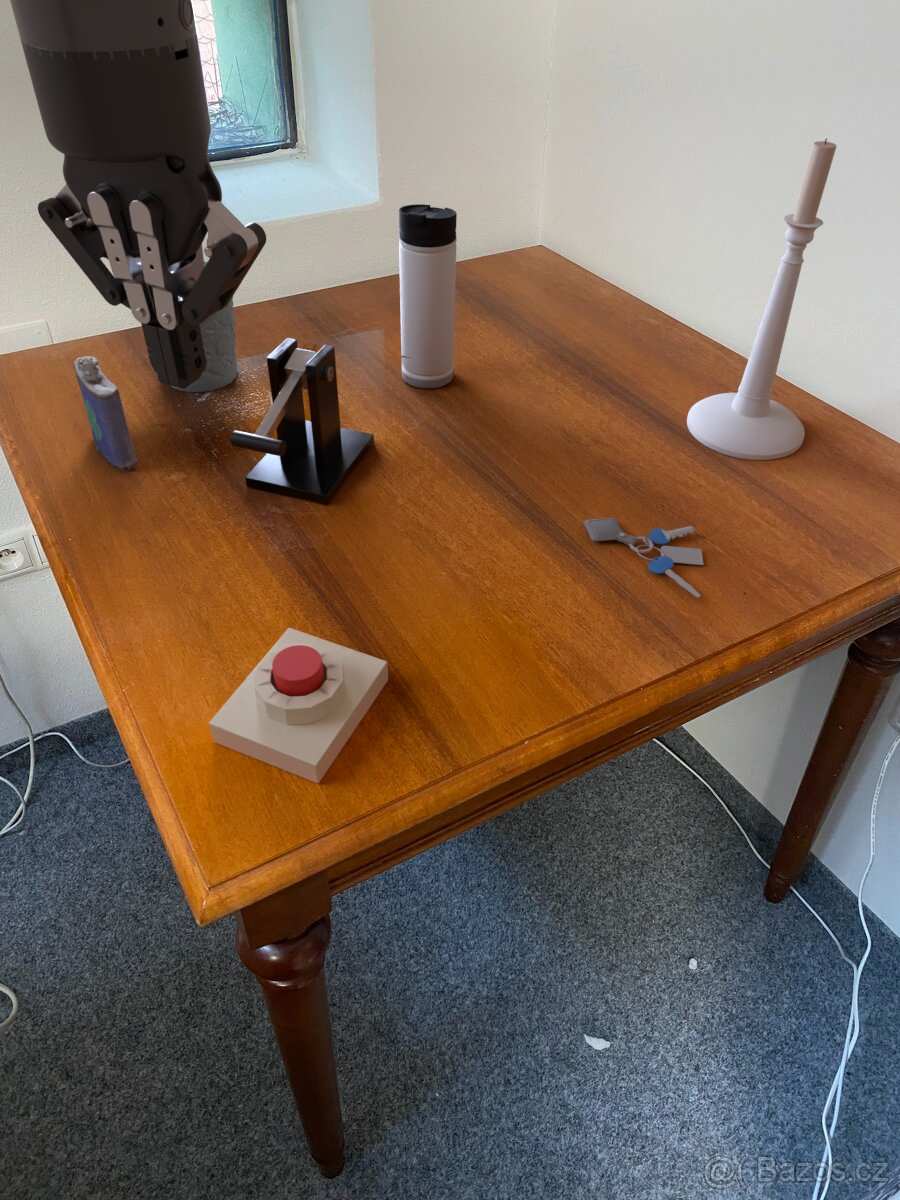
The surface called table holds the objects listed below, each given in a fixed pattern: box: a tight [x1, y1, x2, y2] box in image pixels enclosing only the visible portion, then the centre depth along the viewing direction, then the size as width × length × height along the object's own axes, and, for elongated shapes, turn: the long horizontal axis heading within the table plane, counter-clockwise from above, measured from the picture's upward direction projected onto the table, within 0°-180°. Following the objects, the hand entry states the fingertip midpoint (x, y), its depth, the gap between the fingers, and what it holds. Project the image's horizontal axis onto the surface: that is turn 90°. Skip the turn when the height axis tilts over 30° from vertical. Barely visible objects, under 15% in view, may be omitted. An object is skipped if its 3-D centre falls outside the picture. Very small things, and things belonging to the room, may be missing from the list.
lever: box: [229, 348, 317, 457], centre depth 82 cm, size 12×5×2 cm, turn 161°
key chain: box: [583, 517, 705, 599], centre depth 82 cm, size 14×8×1 cm, turn 46°
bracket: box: [244, 337, 375, 506], centre depth 88 cm, size 12×9×13 cm
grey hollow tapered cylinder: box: [170, 260, 238, 393], centre depth 101 cm, size 10×10×12 cm
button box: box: [208, 627, 389, 784], centre depth 66 cm, size 11×9×4 cm
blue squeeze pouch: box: [73, 355, 138, 472], centre depth 89 cm, size 9×3×11 cm, turn 33°
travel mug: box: [398, 203, 458, 389], centre depth 99 cm, size 6×7×20 cm
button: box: [272, 645, 324, 697], centre depth 64 cm, size 4×4×2 cm
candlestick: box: [686, 138, 837, 461], centre depth 89 cm, size 13×13×30 cm
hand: (182, 380), depth 50 cm, fingers closed
